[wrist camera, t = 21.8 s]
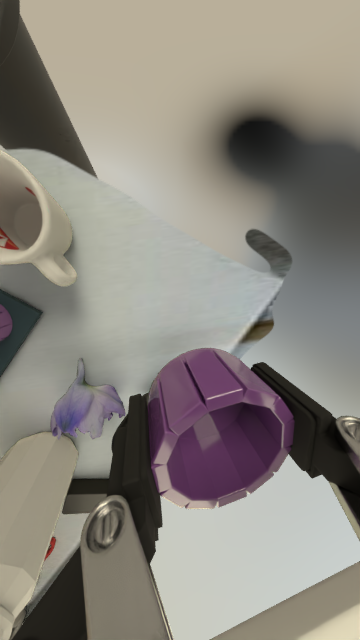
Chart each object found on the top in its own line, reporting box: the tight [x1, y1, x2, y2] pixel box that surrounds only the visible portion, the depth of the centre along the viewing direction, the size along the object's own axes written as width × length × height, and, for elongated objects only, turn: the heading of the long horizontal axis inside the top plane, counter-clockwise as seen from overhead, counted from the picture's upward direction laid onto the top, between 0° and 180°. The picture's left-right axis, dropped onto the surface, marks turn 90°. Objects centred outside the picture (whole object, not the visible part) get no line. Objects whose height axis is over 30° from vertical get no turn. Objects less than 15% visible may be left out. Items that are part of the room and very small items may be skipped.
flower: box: [51, 358, 125, 440], centre depth 23 cm, size 9×9×10 cm
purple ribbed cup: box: [148, 348, 295, 509], centre depth 9 cm, size 6×6×4 cm
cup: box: [0, 150, 77, 287], centre depth 17 cm, size 11×8×8 cm
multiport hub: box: [62, 479, 109, 514], centre depth 31 cm, size 4×11×2 cm, turn 71°
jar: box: [0, 432, 79, 640], centre depth 19 cm, size 10×10×18 cm
